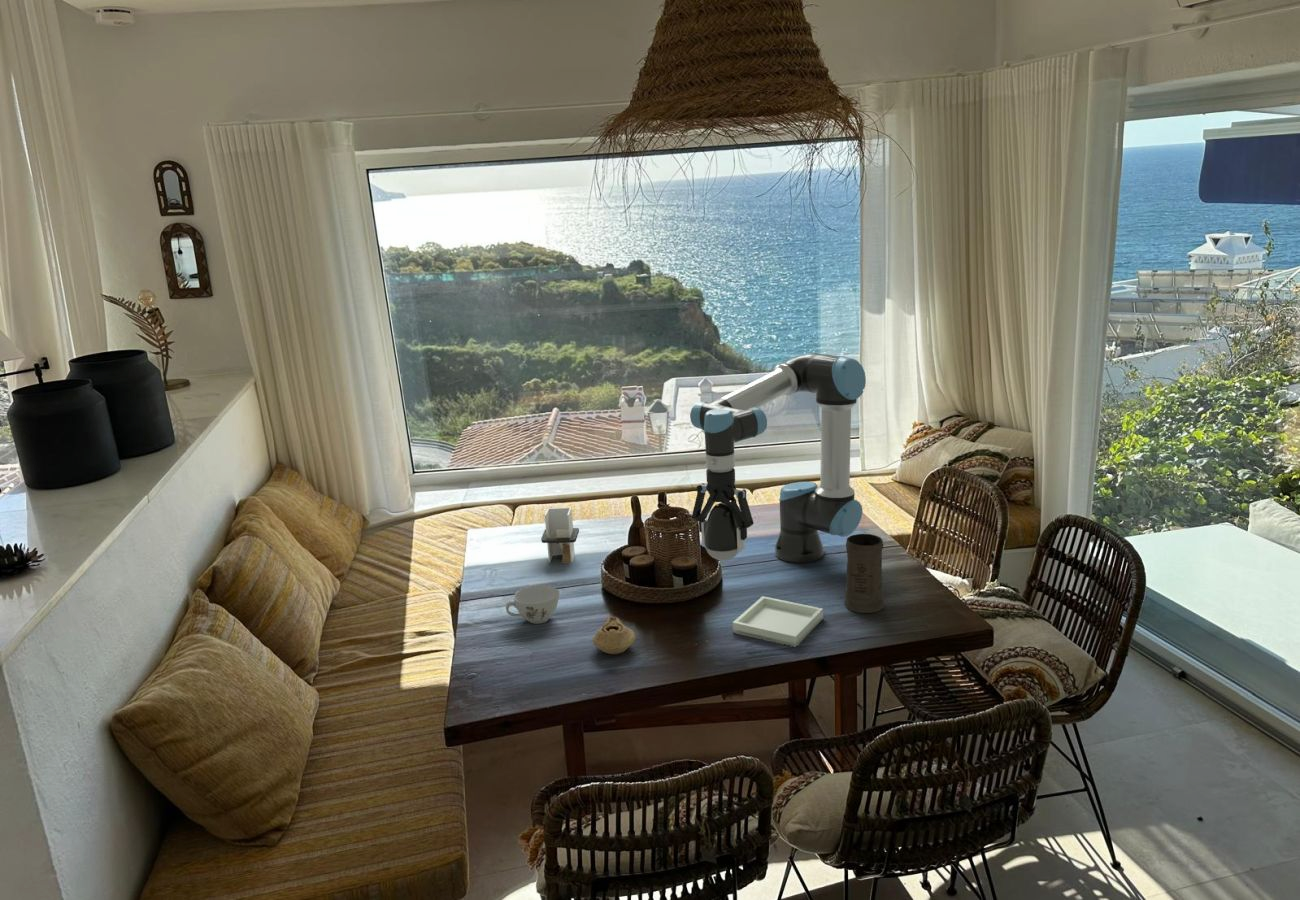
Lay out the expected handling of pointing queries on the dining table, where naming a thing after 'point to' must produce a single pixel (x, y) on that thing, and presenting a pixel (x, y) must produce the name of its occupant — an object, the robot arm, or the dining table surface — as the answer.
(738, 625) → the tray
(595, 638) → the oil lamp
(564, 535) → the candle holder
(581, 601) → the dining table surface
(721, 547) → the dark grey rounded piece
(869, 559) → the beer stein
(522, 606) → the teacup
